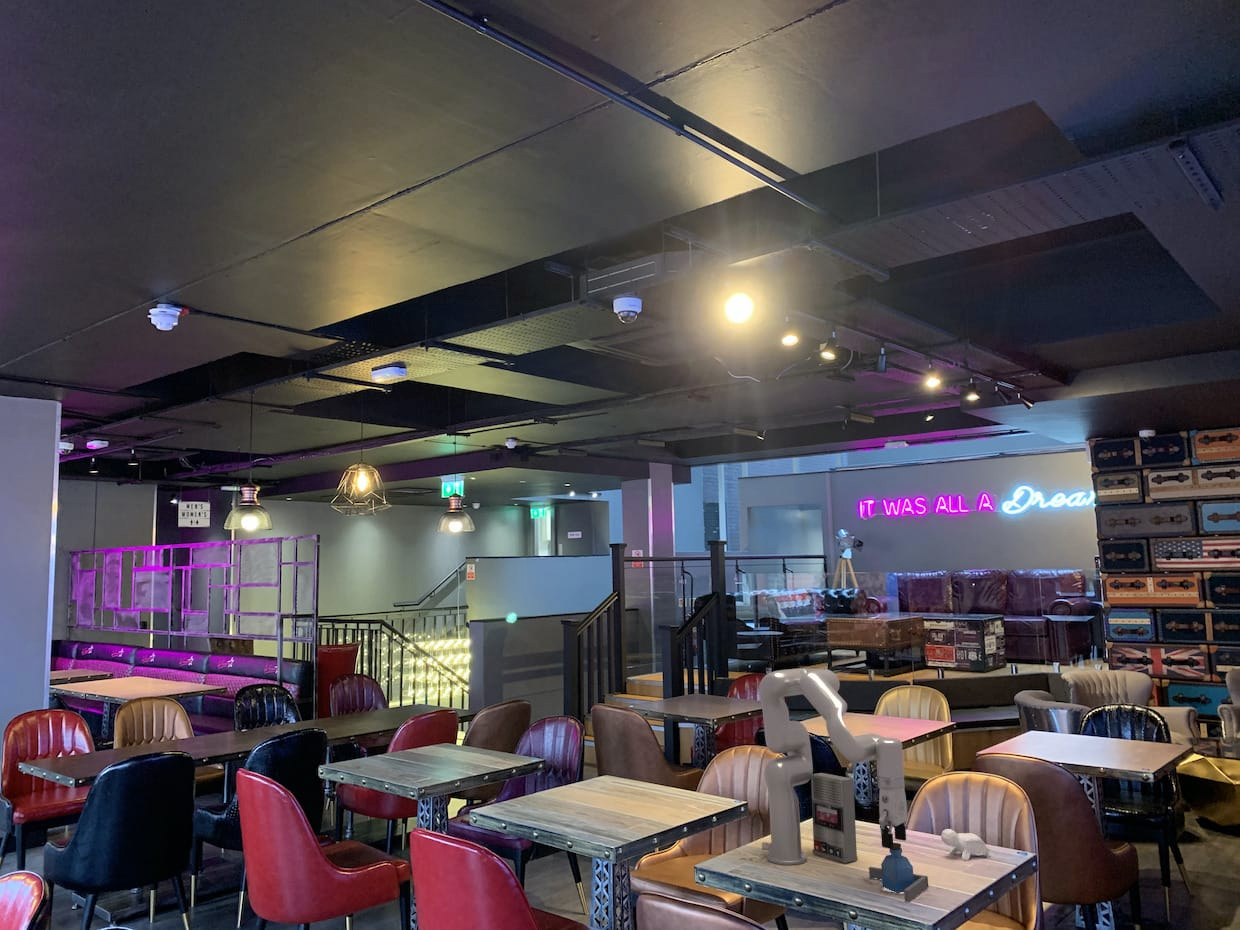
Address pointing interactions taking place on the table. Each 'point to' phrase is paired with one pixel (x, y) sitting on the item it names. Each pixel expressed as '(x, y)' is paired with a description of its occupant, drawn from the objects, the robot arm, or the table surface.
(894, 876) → the perfume bottle
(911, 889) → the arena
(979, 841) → the white turtle figurine
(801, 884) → the table surface
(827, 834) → the cassette tape recorder
